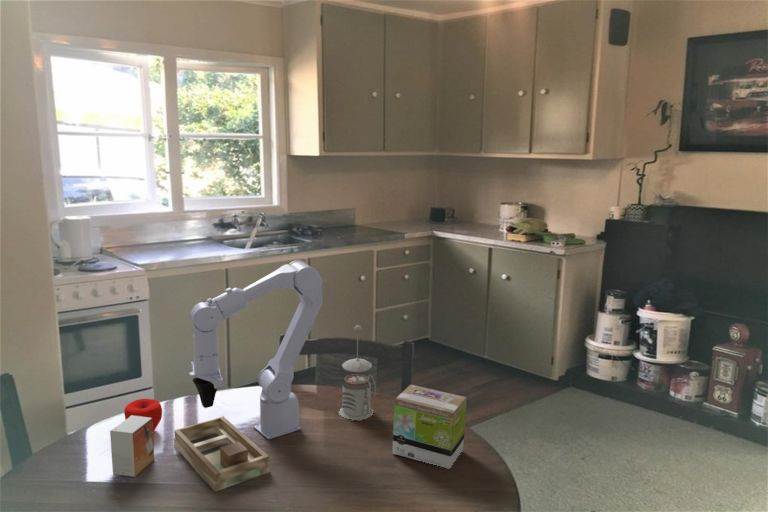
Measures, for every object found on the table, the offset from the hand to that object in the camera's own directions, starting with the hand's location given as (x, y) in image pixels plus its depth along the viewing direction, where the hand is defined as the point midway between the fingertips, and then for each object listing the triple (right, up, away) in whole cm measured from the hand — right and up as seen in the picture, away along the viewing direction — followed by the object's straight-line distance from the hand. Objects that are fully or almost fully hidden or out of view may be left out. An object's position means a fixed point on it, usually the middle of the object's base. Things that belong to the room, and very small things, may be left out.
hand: (207, 406), depth 147 cm
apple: (-18, -8, +6) cm, 20 cm away
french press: (+36, -7, +19) cm, 41 cm away
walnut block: (+9, -10, -12) cm, 18 cm away
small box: (-14, -11, -10) cm, 20 cm away
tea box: (+53, -11, -1) cm, 55 cm away
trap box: (+5, -11, -6) cm, 13 cm away
